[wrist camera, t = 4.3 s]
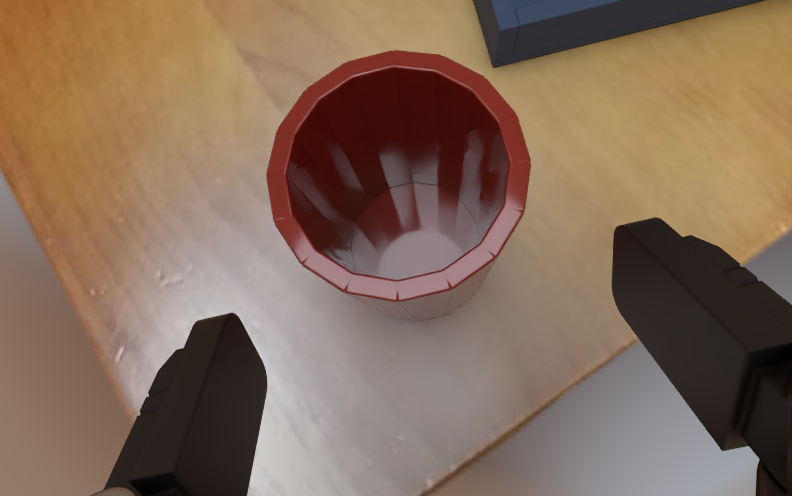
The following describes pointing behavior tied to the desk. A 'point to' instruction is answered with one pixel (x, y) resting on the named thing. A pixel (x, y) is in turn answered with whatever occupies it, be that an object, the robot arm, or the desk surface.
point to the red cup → (400, 181)
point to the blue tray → (577, 22)
